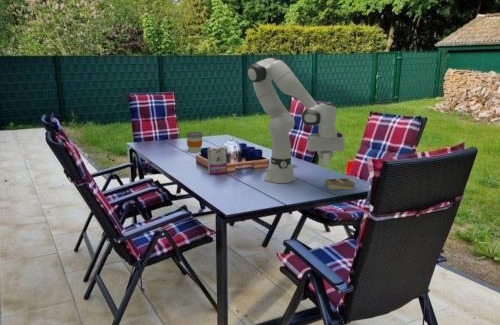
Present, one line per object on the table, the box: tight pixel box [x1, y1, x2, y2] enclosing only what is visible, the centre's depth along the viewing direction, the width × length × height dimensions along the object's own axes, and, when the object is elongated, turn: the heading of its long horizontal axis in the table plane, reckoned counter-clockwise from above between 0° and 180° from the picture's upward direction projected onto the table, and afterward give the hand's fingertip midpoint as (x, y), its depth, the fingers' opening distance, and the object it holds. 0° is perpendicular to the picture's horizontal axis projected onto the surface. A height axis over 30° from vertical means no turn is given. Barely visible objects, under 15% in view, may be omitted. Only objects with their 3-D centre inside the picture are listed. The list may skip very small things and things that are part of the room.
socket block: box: [324, 177, 356, 191], centre depth 246 cm, size 9×14×4 cm, turn 101°
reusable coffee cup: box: [185, 131, 204, 154], centre depth 339 cm, size 13×13×15 cm
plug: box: [320, 151, 331, 167], centre depth 233 cm, size 4×4×8 cm
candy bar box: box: [207, 146, 228, 176], centre depth 273 cm, size 11×5×16 cm, turn 112°
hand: (325, 159), depth 233 cm, fingers closed on plug, 4 cm apart
